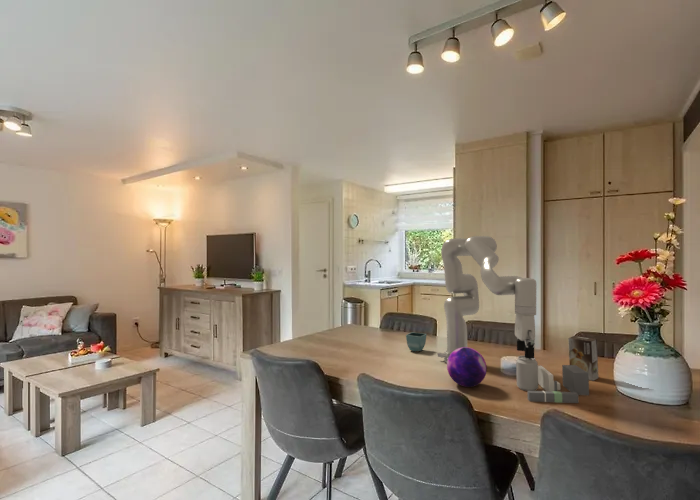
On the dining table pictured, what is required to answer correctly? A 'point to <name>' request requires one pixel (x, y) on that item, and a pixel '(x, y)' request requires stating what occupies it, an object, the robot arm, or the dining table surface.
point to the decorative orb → (466, 367)
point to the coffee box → (584, 355)
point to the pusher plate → (547, 380)
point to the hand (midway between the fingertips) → (525, 354)
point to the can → (527, 373)
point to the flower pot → (416, 341)
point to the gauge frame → (572, 380)
